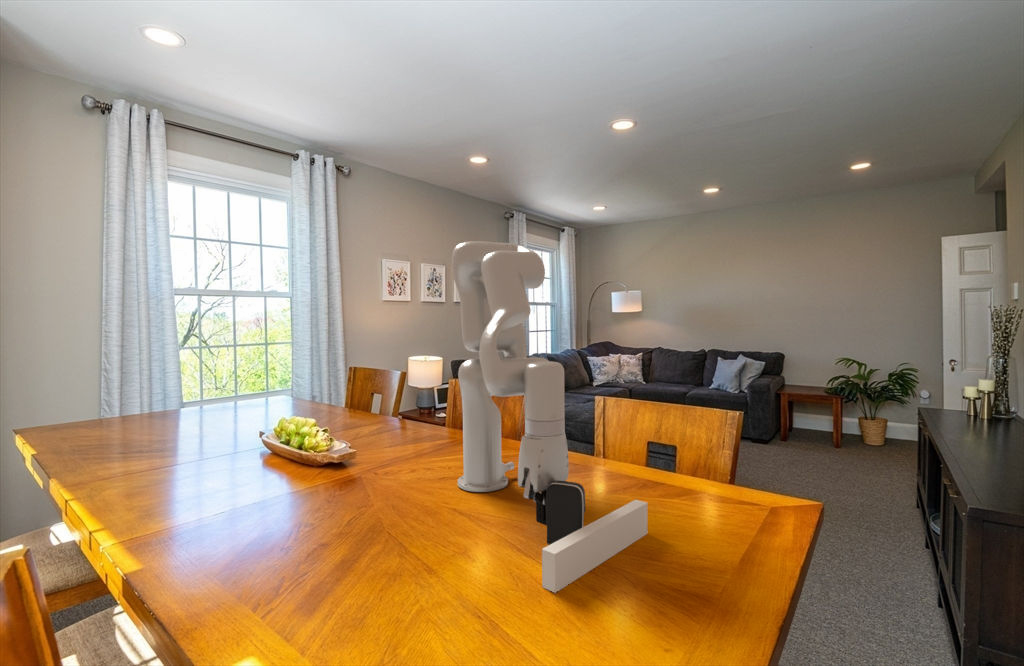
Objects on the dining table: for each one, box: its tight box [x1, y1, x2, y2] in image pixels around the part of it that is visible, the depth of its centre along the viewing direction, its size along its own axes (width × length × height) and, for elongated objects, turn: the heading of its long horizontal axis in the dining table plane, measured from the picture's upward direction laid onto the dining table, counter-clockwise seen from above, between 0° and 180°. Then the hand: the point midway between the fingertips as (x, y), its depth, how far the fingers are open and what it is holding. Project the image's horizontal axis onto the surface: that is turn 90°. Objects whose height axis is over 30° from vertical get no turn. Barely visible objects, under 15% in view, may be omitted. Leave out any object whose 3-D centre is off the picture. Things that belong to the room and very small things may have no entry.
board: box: [541, 499, 649, 594], centre depth 86 cm, size 28×2×6 cm, turn 136°
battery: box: [546, 480, 586, 545], centre depth 92 cm, size 7×4×11 cm, turn 67°
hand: (545, 522), depth 95 cm, fingers closed
